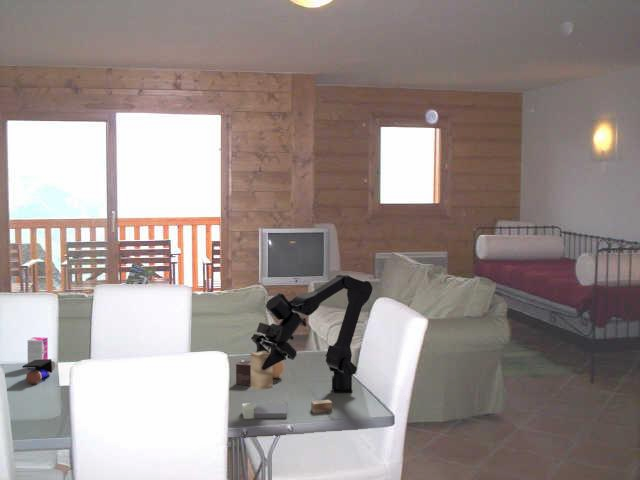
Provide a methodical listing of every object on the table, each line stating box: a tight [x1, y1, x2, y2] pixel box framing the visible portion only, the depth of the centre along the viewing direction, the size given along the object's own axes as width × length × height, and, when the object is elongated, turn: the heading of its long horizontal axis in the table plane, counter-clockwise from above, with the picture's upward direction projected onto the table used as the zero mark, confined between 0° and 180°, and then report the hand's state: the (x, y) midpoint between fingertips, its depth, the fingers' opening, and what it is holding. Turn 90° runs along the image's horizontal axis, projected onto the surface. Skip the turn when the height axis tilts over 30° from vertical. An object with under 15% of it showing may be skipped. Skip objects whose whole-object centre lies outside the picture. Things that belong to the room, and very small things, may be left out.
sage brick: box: [241, 402, 255, 420], centre depth 216 cm, size 6×3×3 cm, turn 12°
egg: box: [273, 360, 285, 379], centre depth 258 cm, size 7×7×9 cm
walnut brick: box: [310, 399, 333, 414], centre depth 221 cm, size 6×3×3 cm, turn 107°
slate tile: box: [253, 402, 288, 419], centre depth 218 cm, size 10×10×2 cm
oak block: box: [250, 351, 274, 391], centre depth 222 cm, size 5×5×11 cm
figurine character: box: [22, 358, 56, 385], centre depth 254 cm, size 7×8×15 cm
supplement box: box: [27, 336, 49, 371], centre depth 270 cm, size 6×6×12 cm
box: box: [235, 360, 251, 386], centre depth 252 cm, size 6×6×7 cm
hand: (257, 367), depth 221 cm, fingers closed on oak block, 5 cm apart
